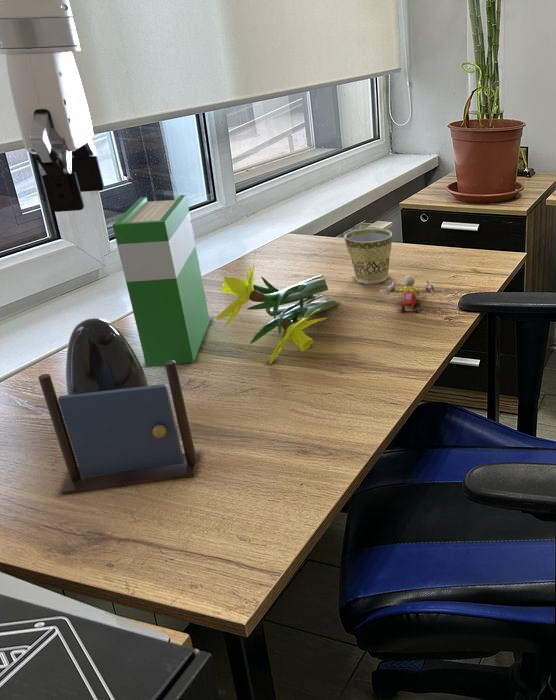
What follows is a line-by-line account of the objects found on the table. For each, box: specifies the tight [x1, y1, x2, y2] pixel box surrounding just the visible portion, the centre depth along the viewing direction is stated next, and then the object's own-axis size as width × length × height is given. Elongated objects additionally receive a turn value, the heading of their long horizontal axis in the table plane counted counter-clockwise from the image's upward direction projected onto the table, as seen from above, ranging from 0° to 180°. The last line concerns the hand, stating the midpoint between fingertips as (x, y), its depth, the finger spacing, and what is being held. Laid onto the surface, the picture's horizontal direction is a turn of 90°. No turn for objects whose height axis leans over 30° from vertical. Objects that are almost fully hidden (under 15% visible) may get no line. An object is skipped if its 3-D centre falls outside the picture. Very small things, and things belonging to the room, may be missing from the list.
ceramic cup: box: [343, 227, 393, 285], centre depth 151 cm, size 13×10×10 cm
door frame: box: [38, 360, 199, 496], centre depth 85 cm, size 15×5×15 cm, turn 103°
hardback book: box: [112, 194, 211, 367], centre depth 118 cm, size 18×7×24 cm, turn 10°
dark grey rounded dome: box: [65, 317, 149, 395], centre depth 98 cm, size 10×10×15 cm
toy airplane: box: [379, 275, 442, 314], centre depth 137 cm, size 9×9×6 cm
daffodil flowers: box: [214, 251, 337, 365], centre depth 121 cm, size 17×15×35 cm
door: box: [57, 383, 184, 477], centre depth 85 cm, size 12×2×11 cm, turn 103°
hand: (80, 200), depth 81 cm, fingers open, 9 cm apart
